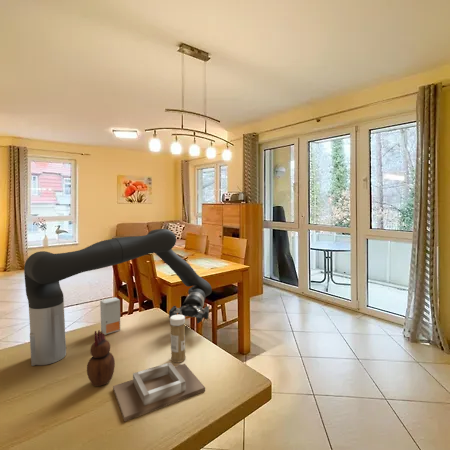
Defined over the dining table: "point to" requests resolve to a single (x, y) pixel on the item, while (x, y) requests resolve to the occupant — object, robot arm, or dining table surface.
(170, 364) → the board
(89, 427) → the dining table surface
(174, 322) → the sprinkles bottle
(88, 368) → the wooden figurine
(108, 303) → the skincare box
